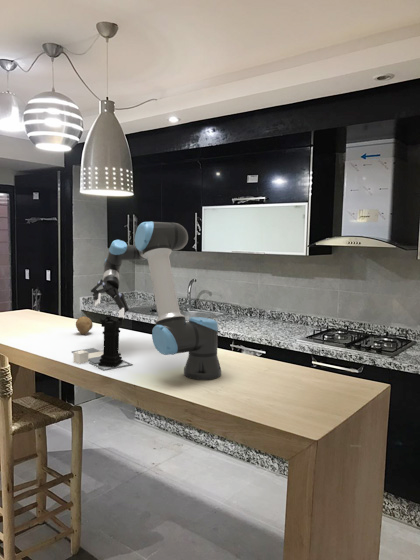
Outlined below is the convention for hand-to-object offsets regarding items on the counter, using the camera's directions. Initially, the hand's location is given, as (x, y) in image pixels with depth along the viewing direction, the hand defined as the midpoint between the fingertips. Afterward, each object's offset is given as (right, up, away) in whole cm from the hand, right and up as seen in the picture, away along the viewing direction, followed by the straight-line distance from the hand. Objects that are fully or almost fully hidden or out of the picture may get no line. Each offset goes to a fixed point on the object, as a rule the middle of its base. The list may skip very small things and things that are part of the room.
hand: (109, 312), depth 197 cm
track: (-9, -21, +9) cm, 24 cm away
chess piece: (+1, -22, -3) cm, 22 cm away
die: (-12, -22, -1) cm, 25 cm away
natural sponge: (-26, -16, +53) cm, 61 cm away
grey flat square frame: (+1, -22, -3) cm, 22 cm away
